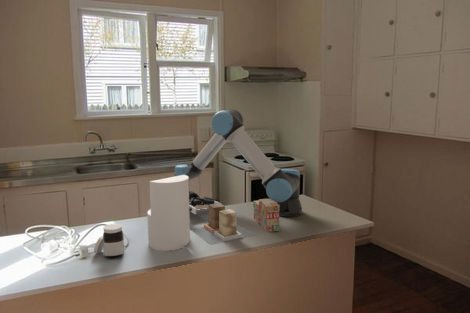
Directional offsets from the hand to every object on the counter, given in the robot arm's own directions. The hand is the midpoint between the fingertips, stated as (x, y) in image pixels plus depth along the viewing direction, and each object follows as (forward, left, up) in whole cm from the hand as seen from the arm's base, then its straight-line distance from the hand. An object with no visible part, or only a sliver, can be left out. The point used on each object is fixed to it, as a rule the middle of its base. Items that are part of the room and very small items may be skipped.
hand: (208, 209), depth 189 cm
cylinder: (+24, +11, -8) cm, 28 cm away
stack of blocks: (-24, +13, -8) cm, 28 cm away
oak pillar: (0, +19, -7) cm, 20 cm away
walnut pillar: (0, +8, -7) cm, 11 cm away
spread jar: (+49, +11, -8) cm, 51 cm away
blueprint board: (0, +14, -8) cm, 16 cm away
